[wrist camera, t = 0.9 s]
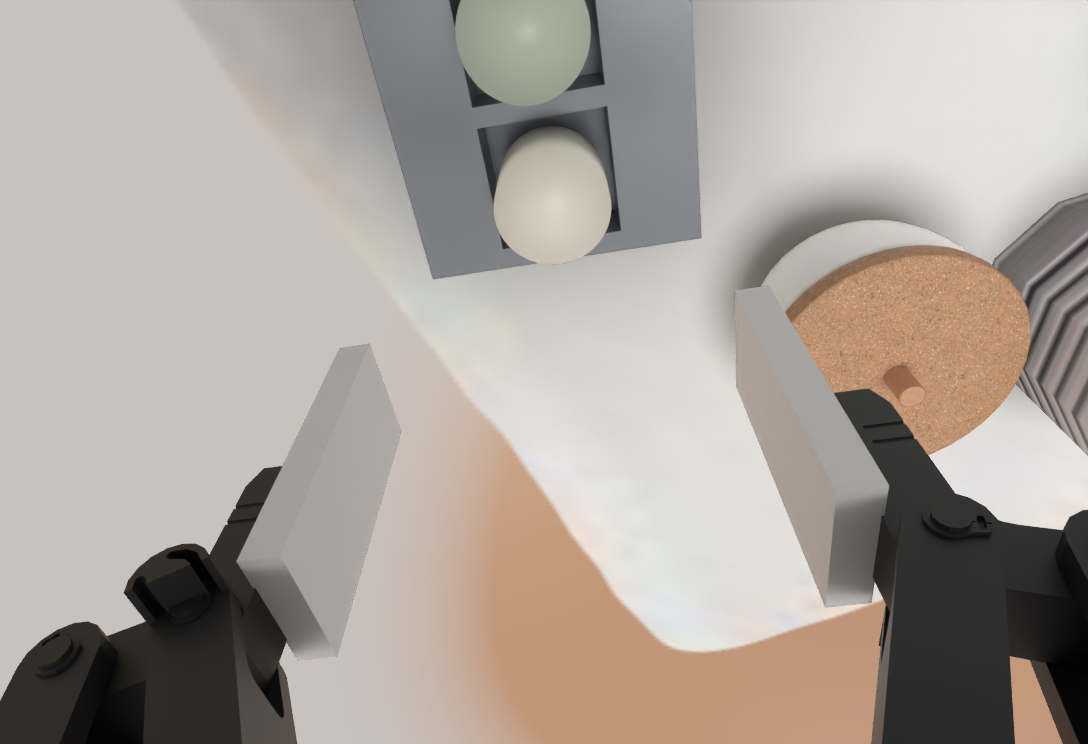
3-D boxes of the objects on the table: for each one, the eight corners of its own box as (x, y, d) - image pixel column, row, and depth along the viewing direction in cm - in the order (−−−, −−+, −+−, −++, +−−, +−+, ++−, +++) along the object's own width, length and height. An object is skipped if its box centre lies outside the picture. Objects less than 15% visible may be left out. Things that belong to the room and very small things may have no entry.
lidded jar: (881, 389, 38) (966, 510, 30) (697, 359, 37) (737, 477, 29) (983, 208, 32) (1121, 301, 25) (768, 167, 31) (842, 250, 23)
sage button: (453, -36, 24) (440, -29, 21) (576, -61, 24) (580, -57, 21) (480, 94, 26) (472, 116, 23) (592, 74, 26) (598, 93, 23)
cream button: (489, 135, 27) (482, 162, 24) (597, 117, 27) (604, 141, 24) (510, 237, 30) (506, 272, 27) (610, 221, 29) (617, 255, 26)
